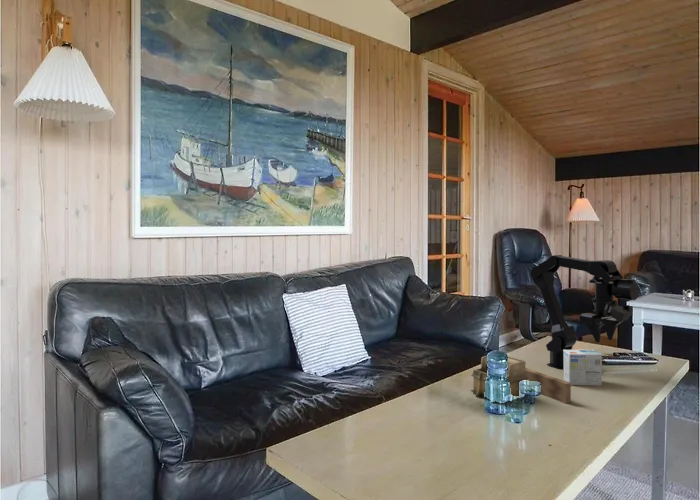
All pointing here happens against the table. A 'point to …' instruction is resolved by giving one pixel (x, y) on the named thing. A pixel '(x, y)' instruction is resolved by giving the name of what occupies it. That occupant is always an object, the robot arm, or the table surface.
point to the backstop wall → (551, 386)
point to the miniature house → (514, 376)
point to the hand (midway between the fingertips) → (603, 341)
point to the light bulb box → (583, 367)
